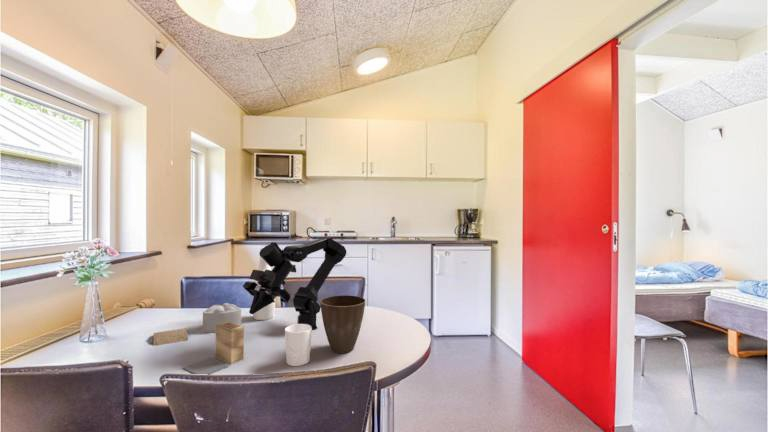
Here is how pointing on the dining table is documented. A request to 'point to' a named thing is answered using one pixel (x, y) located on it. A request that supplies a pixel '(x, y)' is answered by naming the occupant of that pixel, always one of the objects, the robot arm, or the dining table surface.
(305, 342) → the white cup
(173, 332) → the clay tablet
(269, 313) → the alcohol
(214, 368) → the felt mat
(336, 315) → the plant pot
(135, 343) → the dining table surface
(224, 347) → the oak block
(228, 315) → the lumpy-topped squat cylinder
